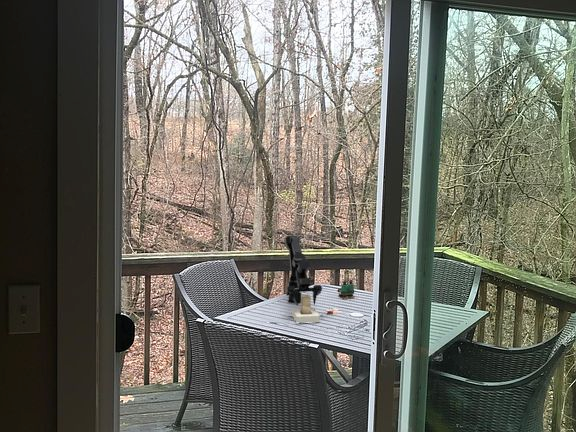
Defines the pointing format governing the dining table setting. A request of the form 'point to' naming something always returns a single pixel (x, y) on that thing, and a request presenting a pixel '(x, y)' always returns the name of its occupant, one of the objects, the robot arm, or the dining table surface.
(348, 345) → the dining table surface
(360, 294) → the dining table surface
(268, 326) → the dining table surface
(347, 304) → the dining table surface
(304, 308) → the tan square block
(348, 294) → the green boxy toy
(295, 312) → the square ring frame
